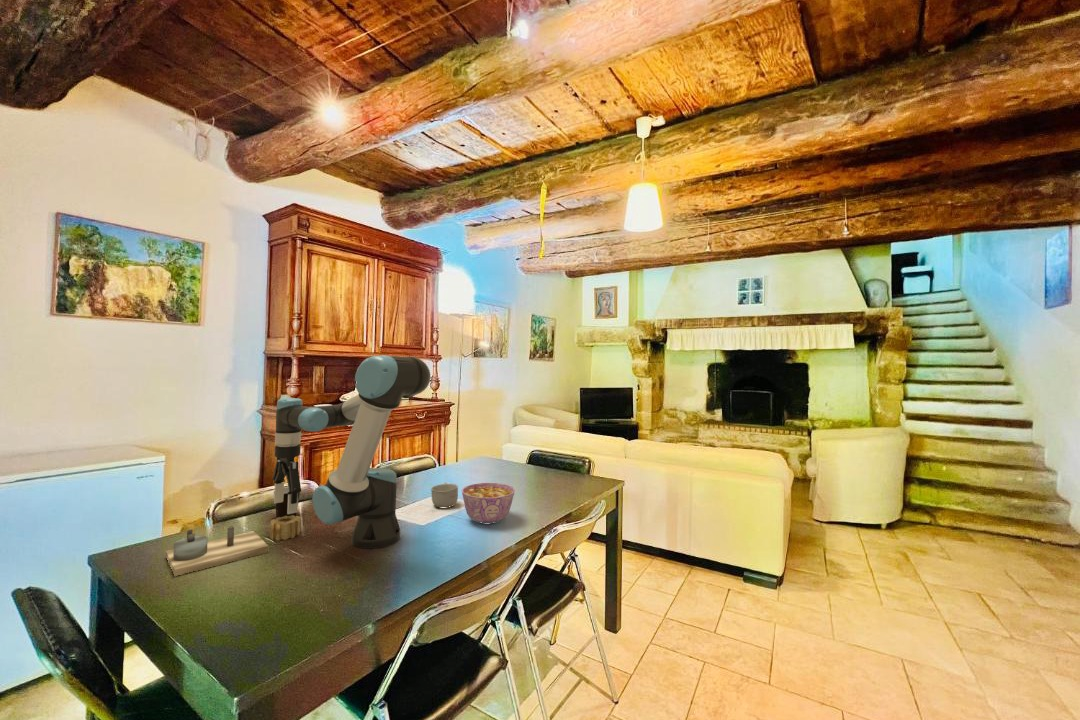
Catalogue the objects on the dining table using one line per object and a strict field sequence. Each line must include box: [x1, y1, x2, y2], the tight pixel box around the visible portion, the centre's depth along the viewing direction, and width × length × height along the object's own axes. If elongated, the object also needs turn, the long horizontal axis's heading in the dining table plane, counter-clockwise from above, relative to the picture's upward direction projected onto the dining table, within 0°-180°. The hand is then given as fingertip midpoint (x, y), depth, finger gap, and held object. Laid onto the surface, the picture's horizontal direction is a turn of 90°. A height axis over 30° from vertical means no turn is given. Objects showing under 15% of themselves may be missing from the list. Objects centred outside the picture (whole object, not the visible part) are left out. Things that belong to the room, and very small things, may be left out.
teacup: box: [430, 482, 459, 508], centre depth 181 cm, size 14×11×8 cm
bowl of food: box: [461, 482, 516, 523], centre depth 164 cm, size 20×20×12 cm
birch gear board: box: [165, 525, 269, 577], centre depth 130 cm, size 16×22×8 cm
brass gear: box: [269, 515, 302, 541], centre depth 146 cm, size 9×9×5 cm
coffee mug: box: [274, 486, 301, 519], centre depth 164 cm, size 12×9×10 cm
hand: (285, 507), depth 146 cm, fingers open, 13 cm apart
